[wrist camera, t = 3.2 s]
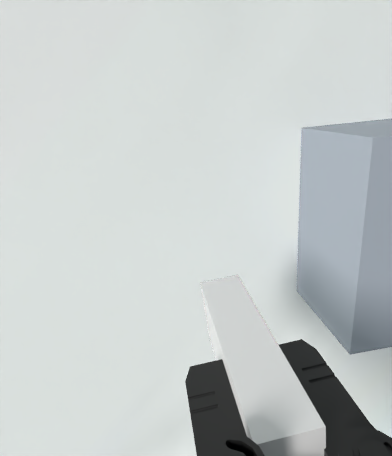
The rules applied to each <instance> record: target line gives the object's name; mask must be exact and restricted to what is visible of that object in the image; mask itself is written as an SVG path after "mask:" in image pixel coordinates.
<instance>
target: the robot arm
mask: <svg viewBox="0 0 392 456" xmlns="http://www.w3.org/2000/svg"><path fill="white" fill-rule="evenodd" d="M200 285H201V291H202V296H203V302H204V308H205V314H206V320H207V326H208V332H209V338H210V342H211V346H212V349H213V353H214V356H215V360H216V361H212V362H208V363H204V364H200V365H195V366H191V367H190V369H189V372H188V375H187V378H186V388H187V395H188V401H189V407H190V413H191V420H192V427H193V433H194V439H195V446H196V452H197V456H392V438H391V437H389V436H387V435H386V434H384V433H382V432H380V431H378V430H376V429H375V428H374V427H373V426H372V425H371V424H370V422H369V421H368V420H367V418H366V417H365V416H364V414H363V413H362V412H361V410H360V409H359V407H358V406H357V405H356V403H355V402H354V401H353V399H352V398H351V396H350V395H349V394H348V392H347V391H346V390H345V388H344V387H343V385H342V384H341V383H340V381H339V380H338V379H337V377H335V375H334V373H333V372H332V370H331V369H330V368H329V366H327V365H326V362H325V361H324V359H323V358H322V356H321V355H320V354H319V352H318V351H317V350H316V349H315V348H314V347H312V346H311V345H309V344H308V343H306V342H305V341H303V340H302V339H301V340H297V341H293V342H289V343H284V344H280V345H278V343H277V342H276V340H275V338H274V336H273V335H272V333H271V331H270V329H269V328H268V326H267V324H266V322H265V321H264V319H263V317H262V316H261V314H260V312H259V310H258V309H257V307H256V305H255V303H254V302H253V300H252V298H251V297H250V295H249V293H248V291H247V290H246V288H245V286H244V284H243V283H242V281H241V279H240V278H239V276H238V275H234V276H229V277H225V278H220V279H215V280H211V281H206V282H201V283H200Z"/></svg>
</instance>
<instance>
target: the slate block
mask: <svg viewBox="0 0 392 456" xmlns="http://www.w3.org/2000/svg"><path fill="white" fill-rule="evenodd" d="M297 292H298V293H299V294H300V295H301V296H302V298H303V299H304V300H305V301H306V302H307V304H308V305H309V306H310V307H311V308H312V310H313V311H314V312H315V313H316V314H317V316H318V317H319V318H320V319H321V320H322V322H323V323H324V324H325V325H326V326H327V328H328V329H329V330H330V331H331V332H332V334H333V335H334V336H335V337H336V338H337V340H338V341H339V342H340V343H341V344H342V346H343V347H344V348H345V349H346V350H347V352H348V353H349V354H355V353H360V352H366V351H371V350H377V349H382V348H387V347H392V119H384V120H374V121H364V122H354V123H345V124H335V125H325V126H315V127H306V128H302V133H301V165H300V197H299V230H298V262H297Z"/></svg>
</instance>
